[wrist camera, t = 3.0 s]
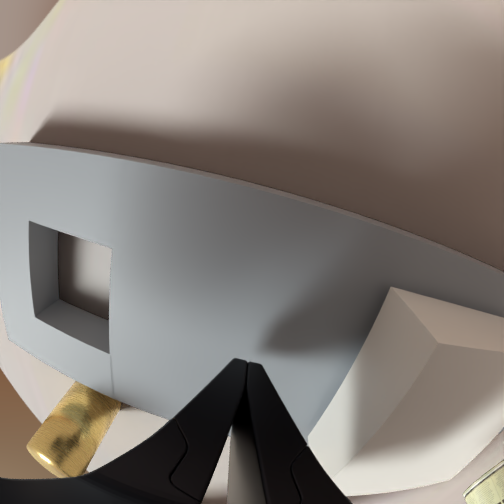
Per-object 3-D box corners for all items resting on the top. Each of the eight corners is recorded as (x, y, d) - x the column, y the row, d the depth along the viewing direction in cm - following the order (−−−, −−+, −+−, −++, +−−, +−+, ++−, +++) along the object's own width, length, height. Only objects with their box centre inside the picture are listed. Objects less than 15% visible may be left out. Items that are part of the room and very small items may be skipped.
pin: (122, 417, 14) (83, 491, 8) (81, 398, 14) (36, 463, 8) (120, 387, 13) (70, 469, 7) (75, 366, 13) (18, 435, 7)
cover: (432, 437, 10) (450, 479, 7) (307, 436, 10) (312, 496, 7) (512, 320, 8) (552, 356, 5) (390, 286, 8) (438, 342, 5)
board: (490, 416, 12) (500, 433, 10) (29, 323, 12) (7, 340, 10) (559, 300, 9) (576, 313, 7) (28, 142, 9) (-4, 143, 7)
